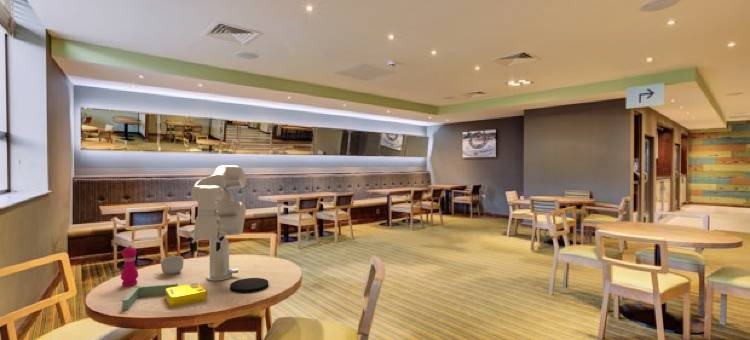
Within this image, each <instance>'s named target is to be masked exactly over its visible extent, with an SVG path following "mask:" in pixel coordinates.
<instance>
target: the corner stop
mask: <svg viewBox="0 0 750 340" xmlns="http://www.w3.org/2000/svg"><path fill="white" fill-rule="evenodd" d="M176 286H179V284H178V283H177V282H174V283H163V284H162V283H161V284H151V285H137V286H136V285H135V286H134V287H133V289H132V290H130V292H129V293H128V294H127V295H126V296H125V297H124V298H123V299H122V300H121V301H122V309H121V310H122V311H127V310H129V309H131V307H132V306H133V304H134V303H135V301H137V299H139V297H146V296H147V297H148V296H158V295H160V296H161V295H165V289H166V288H170V287H176Z"/></svg>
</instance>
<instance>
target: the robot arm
mask: <svg viewBox="0 0 750 340" xmlns="http://www.w3.org/2000/svg"><path fill="white" fill-rule="evenodd" d="M246 176H247V175H246V173H245V172H244V170H243V168H242V167H241V166H240V165H239V166H238V165H219V166H217V167H215V169H214V171H213V173H212V174H211V175H209V176H206V177H204V178H202V179H199V180H198V181H196V182H195V184H194V185H193V187H192V189H191V194H190V195H191V199H192V200H193V201H195V202H197V216H196V218H195V222H194V229H193V230H192V229H191V231H189V232H187V233H185V235H186V237H187V240H189V241H190V242H191V245H192V246H191V247H192V248H191V249H192V251H193V253H195V252H197V251H198V242H197V241H198V240H209V274H207V275H206V280H207V281H214V282H215V281H216V282H217V281H225V280H228V279H231V278H232V277H233V274H238V273H239V269H238V268H231V266H230V241H229V239H228V238H226V236H239V235H241V234H242V233H243V231H244V227H245V225H244V224H245V218H246V209H247V208H246V205H245V203H244V202H242V201H234V196H233V194H232V193H231V191H230V190H228V189H243V188H245V187H246V185H247V177H246ZM192 234H193V237H192Z"/></svg>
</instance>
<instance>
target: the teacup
mask: <svg viewBox="0 0 750 340" xmlns="http://www.w3.org/2000/svg"><path fill="white" fill-rule="evenodd" d="M159 263H160V267H161V271H162V272H163V274H165V275H169V276H170V275H176V274H179V273H180V272H181V271H182V270H183V269H184V257H183V256H181V255H175V256H174V255H173V256H168V257H161V258H160V261H159Z"/></svg>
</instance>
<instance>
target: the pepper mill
mask: <svg viewBox="0 0 750 340" xmlns="http://www.w3.org/2000/svg"><path fill="white" fill-rule="evenodd" d="M132 246H133V245H132V244H128V245H127V247H125V248H124V249H123V250H122V253H121V255H122V257H123V262H124V267H123V269H122V271H121V274H120V279H121V281H122V282H121V286H122V287H124V288H128V287H133V286H134V287H135V286H136V285H137V284H138V280H137V279H138V277H139V271H138V269H137V267H136V264H135V261H136V256H137V253H138V251H137V248H135V247H132Z"/></svg>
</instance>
